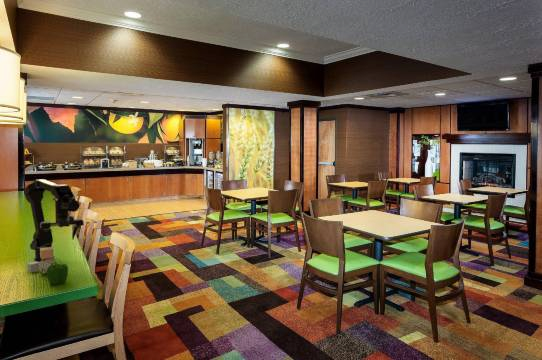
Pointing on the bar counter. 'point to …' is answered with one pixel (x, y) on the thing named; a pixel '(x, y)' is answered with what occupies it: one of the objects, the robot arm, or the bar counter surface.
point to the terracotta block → (46, 252)
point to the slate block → (32, 267)
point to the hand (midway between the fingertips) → (62, 240)
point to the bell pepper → (57, 273)
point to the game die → (45, 264)
